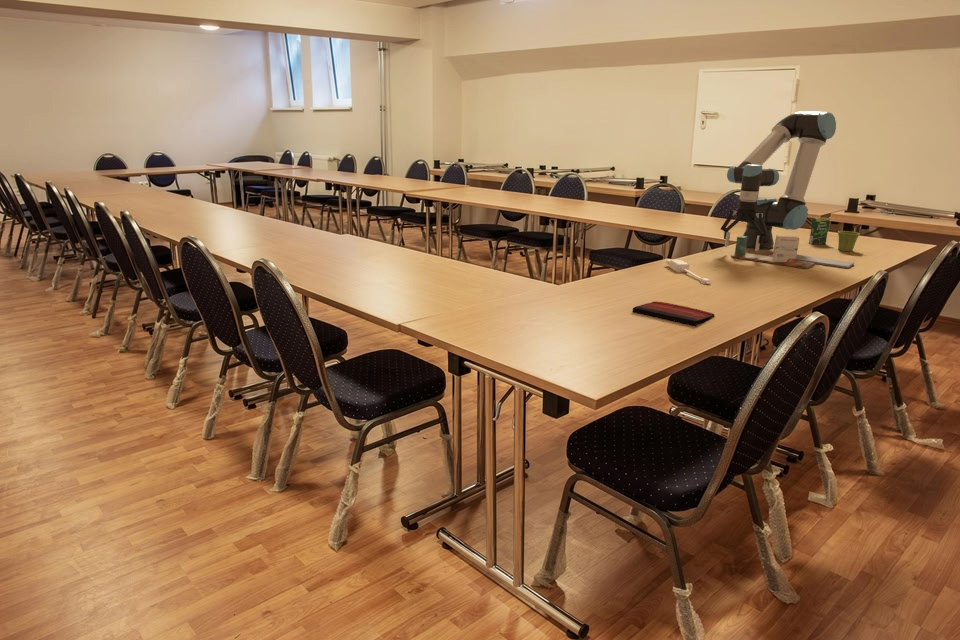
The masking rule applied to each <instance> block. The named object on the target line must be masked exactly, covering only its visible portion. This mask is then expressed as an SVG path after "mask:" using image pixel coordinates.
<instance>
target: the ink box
mask: <svg viewBox="0 0 960 640" xmlns="http://www.w3.org/2000/svg"><path fill="white" fill-rule="evenodd" d="M775 239H776V241H774V245H775V247H774V246H773V252H774V253H773V252H772V254H773V261H775V262H791V263H795V261H796V256H797V255H798V248H799V244H800V237H799V236H797V235H786V234H785V235H783V234H776V236H775Z"/></svg>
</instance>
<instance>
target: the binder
mask: <svg viewBox="0 0 960 640" xmlns="http://www.w3.org/2000/svg"><path fill="white" fill-rule="evenodd" d="M632 313H634V314H636V315H637V314H638V315H642V316H646V317H650V318H656V319H660V320H663V321H669V322H673V323H678V324H682V325H687V326H690V327H695V328H697V323H699V325H702V324H704V323H706V322H708V321H709V320H711V319H713V318H714V317H715V316H716V315H715V314H714V313H712V312H709V311H706V310H701V309H698V308H693V307H690V306H685V305H679V304H675V303H674V304H673V303H669V302H662V301H651V302H649V303H648V302H646V303H643V304H640V305H636V306H634V307H632Z"/></svg>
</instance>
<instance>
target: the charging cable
mask: <svg viewBox="0 0 960 640" xmlns="http://www.w3.org/2000/svg"><path fill="white" fill-rule="evenodd" d="M665 263H666V265H668V266H669V269H671V270H672V271H675V272H676V273H682V272H683V273H684V272H685V273H687V274H690V275H692V276H693V277H694V278H697V279H698V280H699V282H700V283H701V284H703V285H711V284H712V282H711V280H710V279H708V278H707V277H701V276H699V275H697V274H695V273H694V272H692V271H691V270H690V263H688V262H686V261H683V260H682V259H676V258H675V259H666V262H665Z"/></svg>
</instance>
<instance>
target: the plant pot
mask: <svg viewBox="0 0 960 640" xmlns="http://www.w3.org/2000/svg"><path fill="white" fill-rule="evenodd" d="M837 233H838V234H837V235H838V250H839V251H840V252H841V251H843V252H853V250H854V247H855V245H856V242H857V240H858V238H859V236H860V234H861V233H859V232H856V231H845V230H838V231H837Z"/></svg>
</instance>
